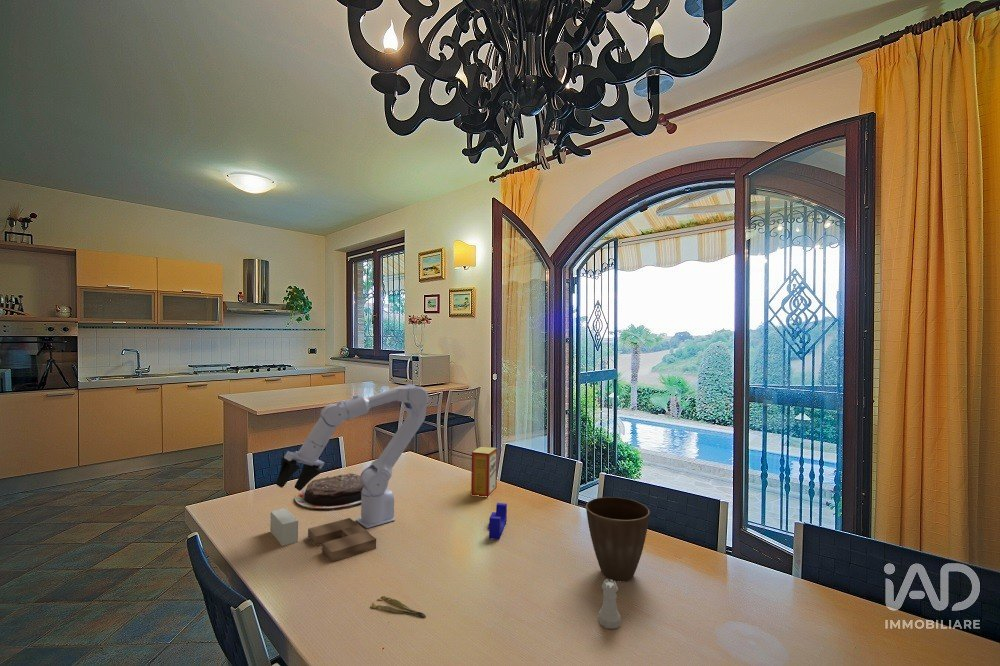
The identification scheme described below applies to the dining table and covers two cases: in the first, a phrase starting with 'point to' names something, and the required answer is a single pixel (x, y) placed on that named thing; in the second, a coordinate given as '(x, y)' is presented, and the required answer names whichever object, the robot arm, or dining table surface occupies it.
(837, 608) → the dining table surface
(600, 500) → the plant pot
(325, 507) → the chocolate cake
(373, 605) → the tongs
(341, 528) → the notched shelf
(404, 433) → the robot arm
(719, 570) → the dining table surface
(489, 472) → the baking soda box
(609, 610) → the rook chess piece
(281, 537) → the grey rubber bar
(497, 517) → the cable clip
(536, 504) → the dining table surface
